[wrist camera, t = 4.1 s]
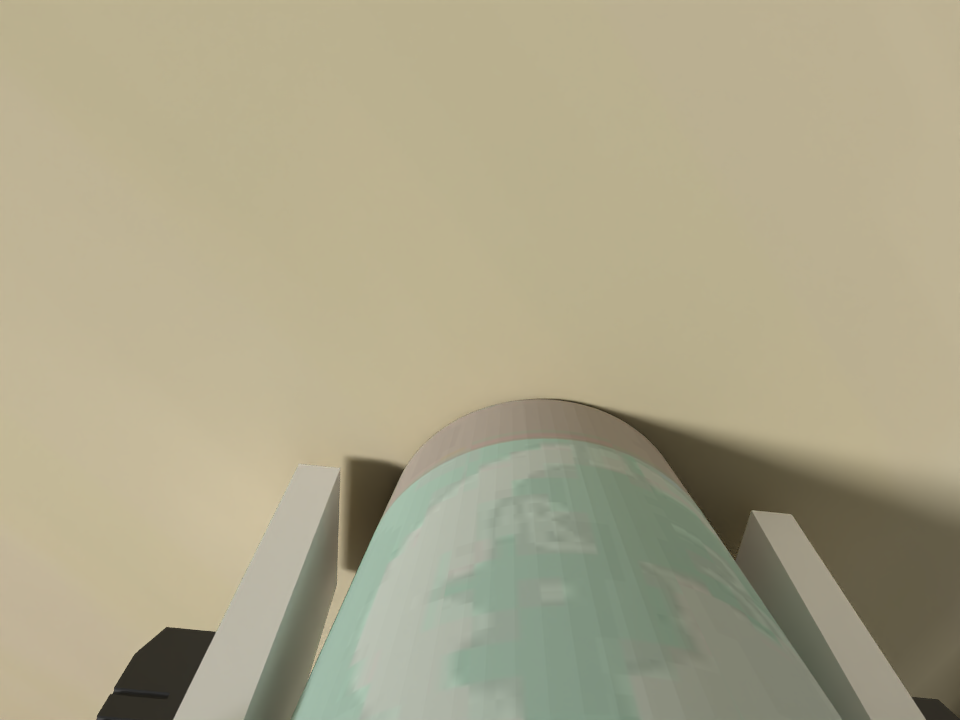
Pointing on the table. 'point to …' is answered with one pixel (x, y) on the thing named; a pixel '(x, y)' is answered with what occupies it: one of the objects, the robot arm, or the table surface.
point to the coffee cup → (551, 589)
